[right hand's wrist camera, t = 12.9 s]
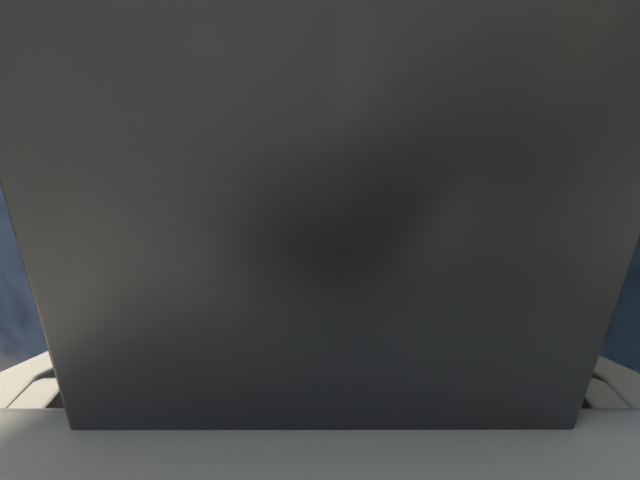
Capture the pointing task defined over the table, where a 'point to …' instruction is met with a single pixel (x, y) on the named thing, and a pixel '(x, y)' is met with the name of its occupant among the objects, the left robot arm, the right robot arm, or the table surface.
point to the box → (322, 206)
